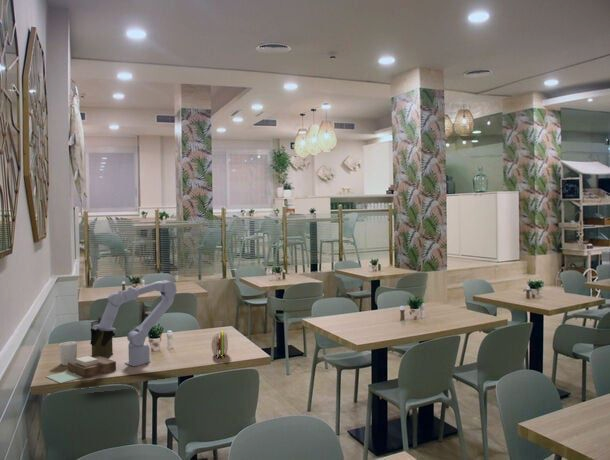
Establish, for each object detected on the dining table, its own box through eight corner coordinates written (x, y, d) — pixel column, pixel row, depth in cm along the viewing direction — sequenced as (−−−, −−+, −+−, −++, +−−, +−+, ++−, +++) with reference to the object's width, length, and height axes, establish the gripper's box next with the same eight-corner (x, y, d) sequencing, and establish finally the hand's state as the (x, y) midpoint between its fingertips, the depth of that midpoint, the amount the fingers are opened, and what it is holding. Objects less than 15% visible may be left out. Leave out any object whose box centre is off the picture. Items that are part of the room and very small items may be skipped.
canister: (114, 356, 265) (113, 317, 265) (92, 359, 260) (92, 319, 260) (111, 351, 275) (110, 314, 274) (90, 354, 270) (89, 316, 269)
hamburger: (212, 352, 271) (211, 330, 271) (228, 352, 272) (227, 329, 272) (211, 359, 259) (210, 335, 259) (227, 358, 261) (227, 334, 260)
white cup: (60, 366, 248) (59, 346, 247) (59, 362, 255) (58, 342, 254) (78, 364, 252) (77, 344, 251) (76, 360, 258) (76, 340, 258)
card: (88, 360, 245) (88, 355, 245) (97, 363, 239) (97, 359, 239) (75, 362, 240) (75, 358, 240) (85, 366, 234) (85, 362, 234)
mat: (68, 371, 240) (68, 371, 240) (82, 377, 231) (82, 377, 231) (46, 377, 232) (46, 376, 232) (60, 383, 223) (60, 382, 223)
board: (98, 363, 252) (98, 355, 252) (116, 369, 242) (115, 361, 242) (68, 371, 241) (67, 362, 241) (85, 377, 231) (84, 369, 230)
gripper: (111, 316, 253) (101, 343, 251) (92, 313, 240) (80, 341, 237) (123, 321, 251) (112, 348, 248) (103, 317, 237) (92, 346, 235)
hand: (97, 345), depth 243 cm, fingers open, 7 cm apart
